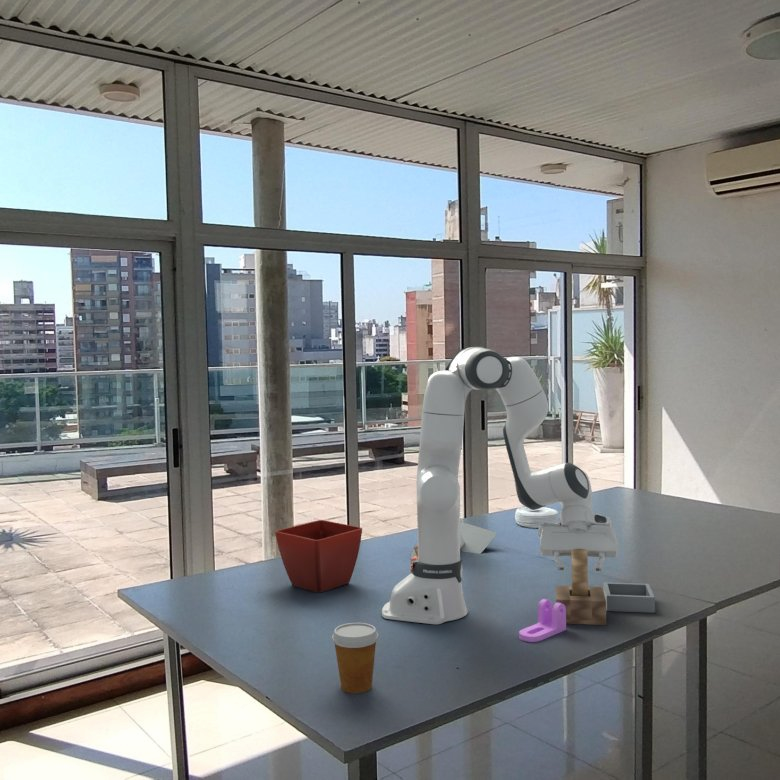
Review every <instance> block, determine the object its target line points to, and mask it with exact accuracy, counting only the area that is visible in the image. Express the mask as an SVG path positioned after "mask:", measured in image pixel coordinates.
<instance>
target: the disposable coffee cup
mask: <svg viewBox="0 0 780 780" xmlns="http://www.w3.org/2000/svg"><path fill="white" fill-rule="evenodd" d="M378 638H379V633H378V632H377V629H376V627H375V626H374V625H373V624H370V623H367V622H366V623H365V622H348V623H343V624H340V625H338V626H337V627H335V628H334V630H333V634H332V635H331V639H332V642H333V643H334V647H335V654H336V661H337V662H336V663H337V668H338V674H339V675H338V676H339V681H340V687H341V688H340V689H341V690H342V691H343V692H345V693H350V694H361V693H366V692H368V691H369V690H371V689H372V687H373V675H374V668H375V655H376V644H377V641H378Z"/></svg>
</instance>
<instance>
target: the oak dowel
mask: <svg viewBox="0 0 780 780" xmlns="http://www.w3.org/2000/svg"><path fill="white" fill-rule="evenodd" d="M588 558H589V557H587V550H585V549H572V550H571V560H570V561H571V586H572V596H588V586H589V576H588V575H589V573H588V571H589V570H588V569H589V568H588V567H589V566H588Z"/></svg>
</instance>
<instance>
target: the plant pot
mask: <svg viewBox="0 0 780 780" xmlns="http://www.w3.org/2000/svg"><path fill="white" fill-rule="evenodd" d="M274 533H275V539H276V543H277V547H278V551H279V555H280V557H281V560H282V564H283V567H284V569H285V571H286V573H287V576H288V579H289V581H290V583H291V585H292V586H293V587H297V588H300V589H304V590H307V591H310V592H314V593H318V594H319V593H323V592H327V591H329V590H332V589H335V588H338V587H341V586H344V585H347V584H349V583H350V582H351V579H352V576H353V573H354V571H355V567H356V563H357V561H358V556H359V551H360V547H361V542H362V534H363V527H360V526H355V525H350V524H346V523H339V522H334V521H330V520H329V521H328V520H325V519H321V520H320V519H319V520H314V521H310V522H306V523H302V524H299V525H294V526H290V527H286V528H282V529H278V530H275V532H274Z"/></svg>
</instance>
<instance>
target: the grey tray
mask: <svg viewBox="0 0 780 780" xmlns="http://www.w3.org/2000/svg"><path fill="white" fill-rule="evenodd" d="M603 591H604V595H605V599H606V612H628V613H629V612H630V613H632V612H633V613H656V597H655V595H654V592H653V590H652V588H651V586H650V583H638V582H637V583H635V582H633V583H632V582H631V583H630V582H607V581H606V582H603Z"/></svg>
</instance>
